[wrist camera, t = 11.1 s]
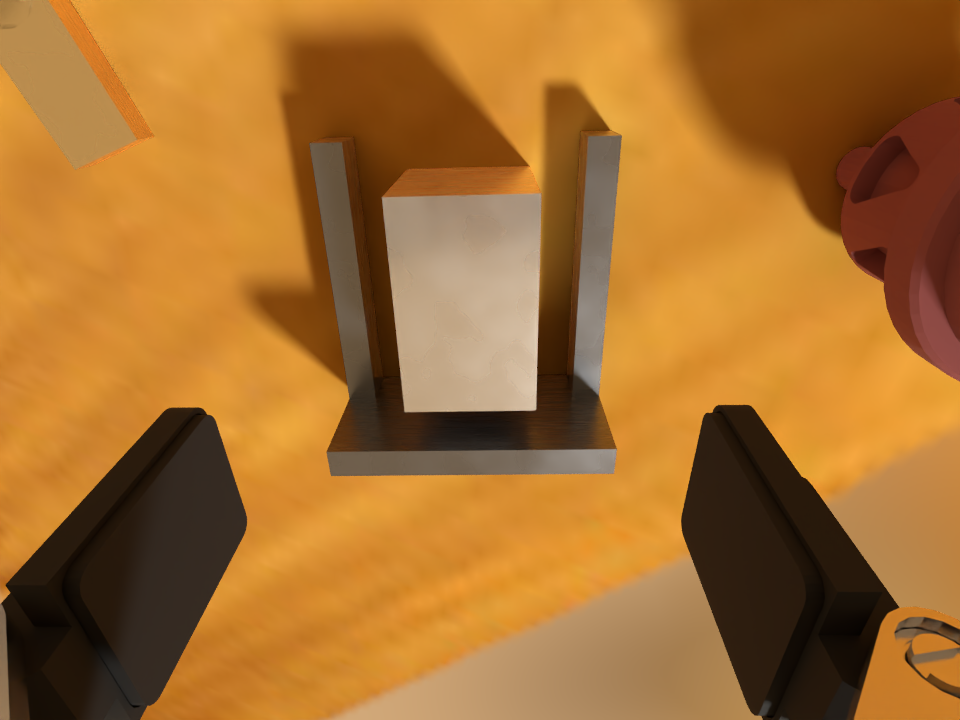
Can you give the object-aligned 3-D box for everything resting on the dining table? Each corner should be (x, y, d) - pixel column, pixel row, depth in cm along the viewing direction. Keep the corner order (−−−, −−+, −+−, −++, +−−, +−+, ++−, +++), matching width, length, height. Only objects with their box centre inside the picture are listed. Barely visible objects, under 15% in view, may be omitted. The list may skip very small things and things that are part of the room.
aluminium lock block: (407, 168, 22) (381, 197, 17) (529, 165, 22) (541, 193, 17) (423, 356, 26) (406, 427, 21) (526, 355, 26) (535, 425, 21)
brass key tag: (-46, -40, 19) (-77, -46, 18) (20, -80, 19) (-8, -88, 18) (94, 165, 23) (74, 169, 21) (154, 136, 22) (137, 140, 21)
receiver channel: (323, 137, 22) (270, 157, 17) (610, 130, 22) (650, 148, 16) (361, 398, 27) (331, 475, 22) (589, 395, 27) (613, 473, 22)
